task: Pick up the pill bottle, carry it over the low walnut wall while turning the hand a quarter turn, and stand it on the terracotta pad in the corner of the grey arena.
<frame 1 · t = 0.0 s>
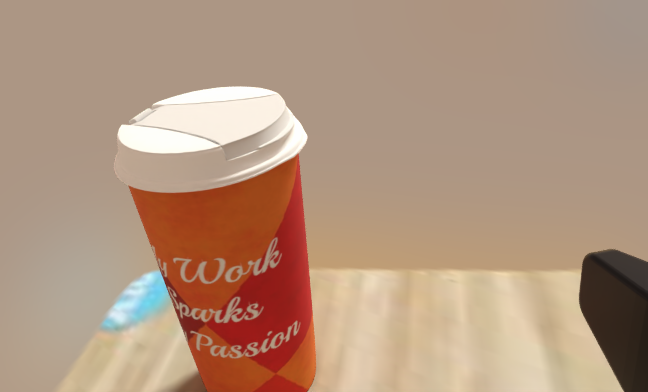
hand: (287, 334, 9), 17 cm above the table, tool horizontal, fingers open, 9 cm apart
paper cup: (263, 377, 31), on the table
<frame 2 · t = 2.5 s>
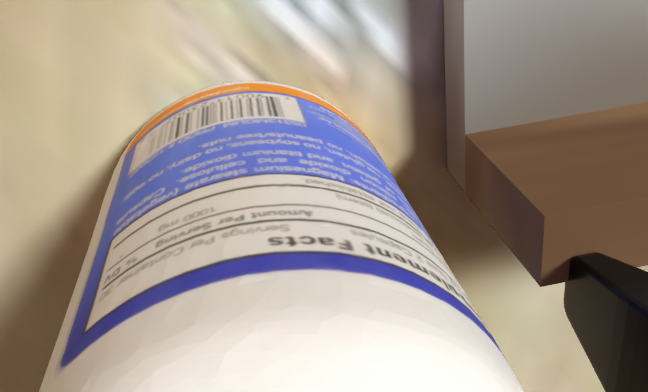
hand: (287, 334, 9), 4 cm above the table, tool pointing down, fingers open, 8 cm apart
pill bottle: (250, 201, 12), on the table
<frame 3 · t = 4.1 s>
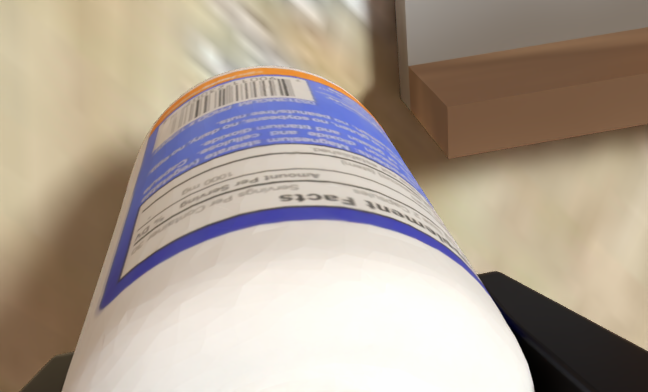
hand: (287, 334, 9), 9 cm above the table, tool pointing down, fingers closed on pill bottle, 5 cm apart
pill bottle: (265, 181, 13), point 4 cm above the table, touching gripper
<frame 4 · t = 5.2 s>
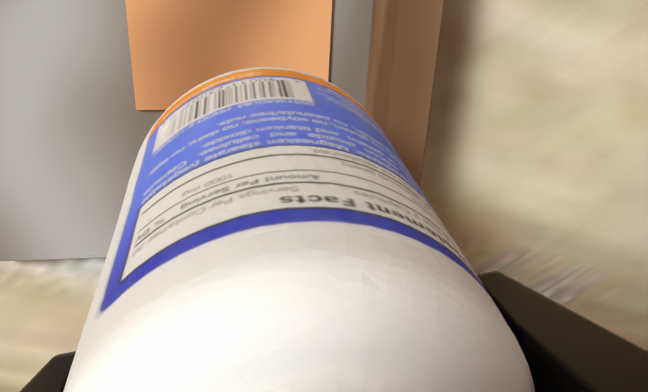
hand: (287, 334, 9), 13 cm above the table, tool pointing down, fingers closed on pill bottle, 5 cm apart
pill bottle: (265, 181, 13), point 8 cm above the table, touching gripper
corner arena: (184, 52, 20), on the table
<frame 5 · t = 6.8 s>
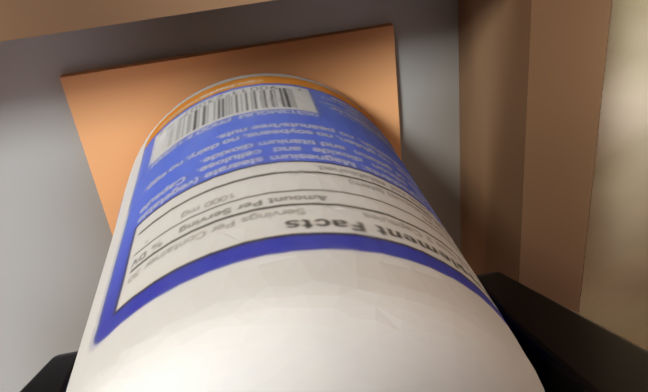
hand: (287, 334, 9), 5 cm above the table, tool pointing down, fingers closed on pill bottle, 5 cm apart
pill bottle: (265, 190, 13), point 1 cm above the table, touching corner arena, gripper
corner arena: (200, 240, 14), on the table
when the fingers open (5 cm above the table, at t = 7.3 s): pill bottle stays where it is, resting on corner arena.
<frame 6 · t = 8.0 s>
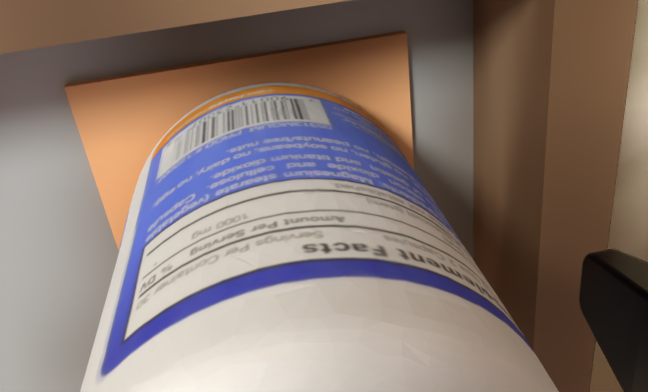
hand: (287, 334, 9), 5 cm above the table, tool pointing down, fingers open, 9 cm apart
pill bottle: (274, 201, 12), point 1 cm above the table, touching corner arena
corner arena: (207, 251, 14), on the table
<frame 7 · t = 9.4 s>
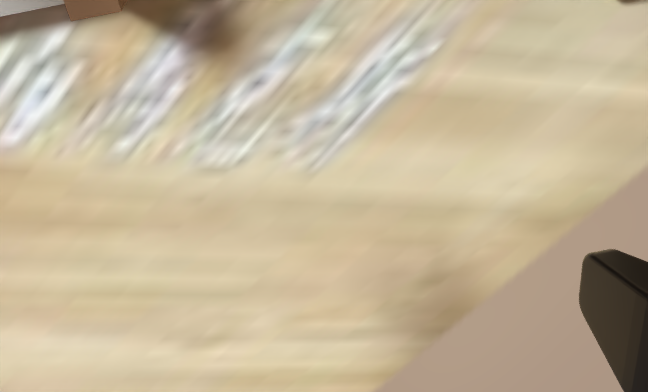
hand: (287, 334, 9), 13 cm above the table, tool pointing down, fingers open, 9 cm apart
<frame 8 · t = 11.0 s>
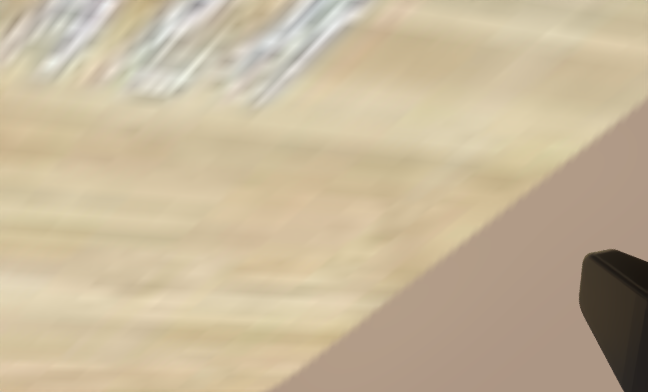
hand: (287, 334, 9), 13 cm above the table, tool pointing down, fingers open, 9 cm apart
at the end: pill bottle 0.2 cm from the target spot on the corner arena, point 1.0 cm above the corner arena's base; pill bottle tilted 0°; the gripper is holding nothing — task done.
